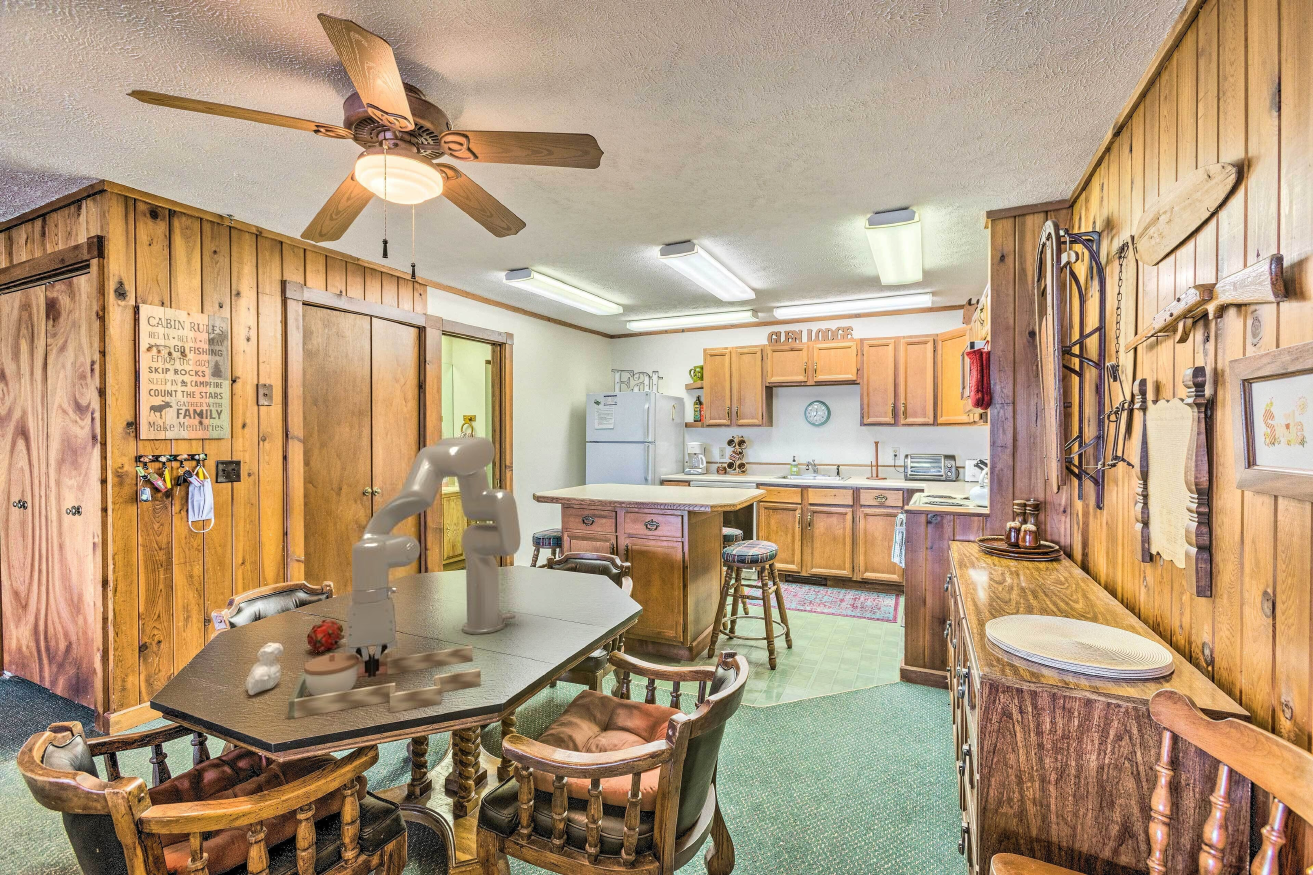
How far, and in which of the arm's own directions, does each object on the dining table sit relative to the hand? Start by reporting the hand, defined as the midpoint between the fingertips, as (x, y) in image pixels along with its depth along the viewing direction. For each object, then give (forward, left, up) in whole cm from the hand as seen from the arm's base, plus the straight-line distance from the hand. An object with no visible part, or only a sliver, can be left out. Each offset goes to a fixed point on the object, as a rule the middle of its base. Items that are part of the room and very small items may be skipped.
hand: (372, 674), depth 135 cm
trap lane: (-4, 0, -3) cm, 5 cm away
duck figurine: (+23, -12, -4) cm, 26 cm away
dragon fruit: (+13, -35, -4) cm, 38 cm away
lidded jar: (+8, 0, -4) cm, 9 cm away
